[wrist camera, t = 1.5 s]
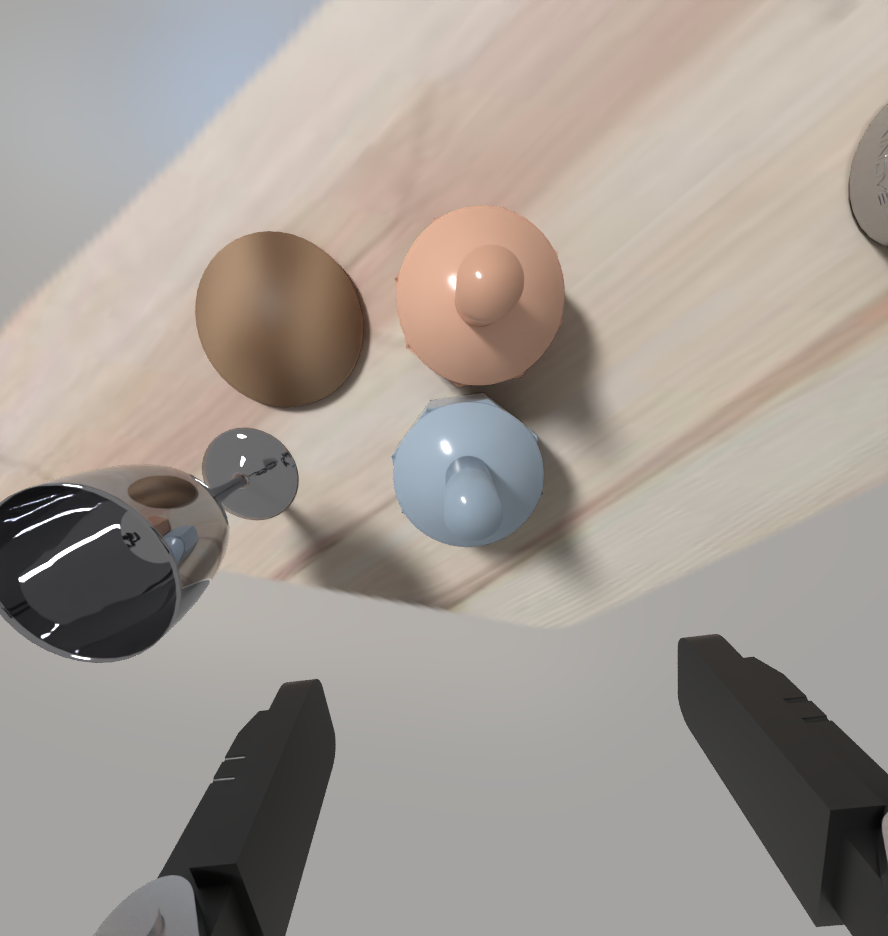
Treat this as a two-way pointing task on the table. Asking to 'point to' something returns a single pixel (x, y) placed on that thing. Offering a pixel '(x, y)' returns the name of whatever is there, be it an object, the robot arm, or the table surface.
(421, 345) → the terracotta cloche
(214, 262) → the disc
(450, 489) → the slate cloche
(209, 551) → the wine glass
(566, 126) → the table surface
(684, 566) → the table surface
